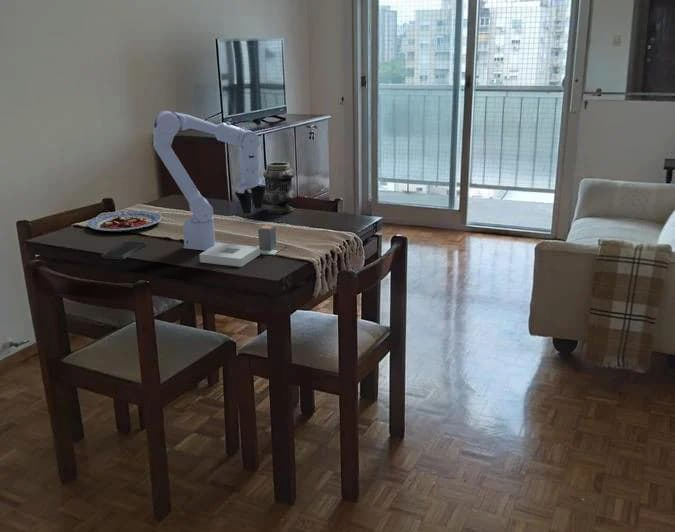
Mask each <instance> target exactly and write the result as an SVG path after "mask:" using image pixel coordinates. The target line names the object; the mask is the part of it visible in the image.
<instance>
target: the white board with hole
mask: <svg viewBox="0 0 675 532" xmlns="http://www.w3.org/2000/svg"><path fill="white" fill-rule="evenodd" d="M260 255H261V254H260V247H256V246H255V245H244V244H233V243H223V242H220V243H219V244H217V245H215V246H213V247H212V248H210V249H208V250H203V252H201V253H199V262H200V263H205V264H214V265H222V266H223V265H224V266H229V267H232V266H233V267H238V268H242V267H243V266H245V265H247V264H248V263H249V262H251V261H253V260H254V259H256V258H257V257H258V256H259V257H260Z"/></svg>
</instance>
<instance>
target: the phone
mask: <svg viewBox="0 0 675 532" xmlns="http://www.w3.org/2000/svg"><path fill="white" fill-rule="evenodd" d="M146 246H147V243H146V242H137V241H135V242H134V241H125V242H123V243H121V244H119V245H117V246H115V247H114V248H111V249H109V250H108V251H105V252H104V253H102V254H101V258H102V259H111V260H112V259H113V260H124V259H126V258H128V257H129V256H131V255H133V254H134V253H135V254H136V252H138V251H140V250H142V249H143V248H145V247H146Z"/></svg>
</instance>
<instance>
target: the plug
mask: <svg viewBox="0 0 675 532" xmlns="http://www.w3.org/2000/svg"><path fill="white" fill-rule="evenodd" d="M257 230H258V231H257V232H258V245H259V247H260V250H268V251H271V250H273V249H274V248H275V247H276V245H277V233H276V232H277V231H276V226H274V225H266V224H265V225H263V226H260V227H259V228H258V229H257Z"/></svg>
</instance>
